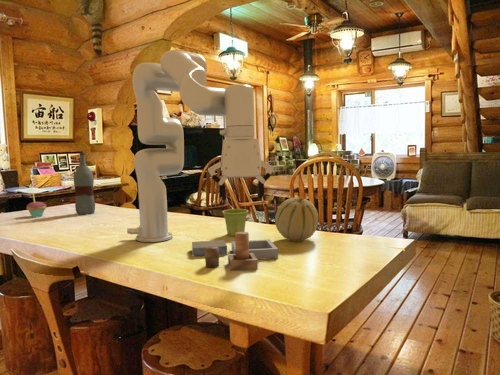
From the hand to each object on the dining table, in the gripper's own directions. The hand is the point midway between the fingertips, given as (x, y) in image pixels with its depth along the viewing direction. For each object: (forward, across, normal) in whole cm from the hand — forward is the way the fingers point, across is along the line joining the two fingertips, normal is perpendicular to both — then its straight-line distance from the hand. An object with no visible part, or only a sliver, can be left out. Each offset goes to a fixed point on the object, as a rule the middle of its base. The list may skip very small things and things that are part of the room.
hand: (241, 199), depth 108 cm
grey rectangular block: (+18, -8, +17) cm, 26 cm away
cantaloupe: (+18, +22, +26) cm, 38 cm away
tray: (+18, +5, +12) cm, 22 cm away
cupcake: (+17, -86, +103) cm, 135 cm away
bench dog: (+18, -8, +2) cm, 20 cm away
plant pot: (+18, +3, +40) cm, 44 cm away
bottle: (+17, -64, +105) cm, 124 cm away
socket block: (+18, 0, 0) cm, 18 cm away
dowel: (+18, 0, 0) cm, 18 cm away
